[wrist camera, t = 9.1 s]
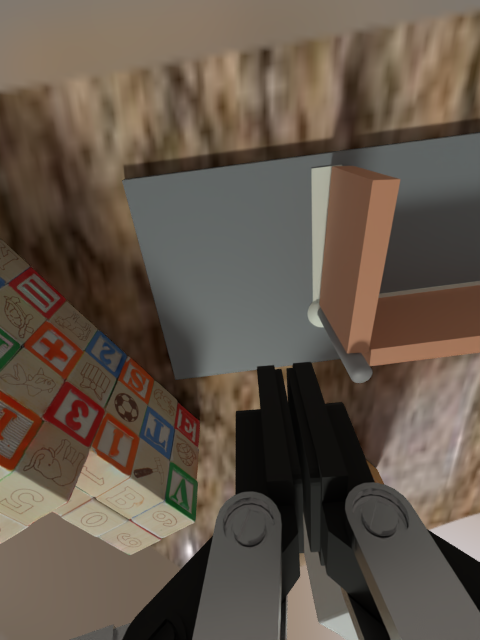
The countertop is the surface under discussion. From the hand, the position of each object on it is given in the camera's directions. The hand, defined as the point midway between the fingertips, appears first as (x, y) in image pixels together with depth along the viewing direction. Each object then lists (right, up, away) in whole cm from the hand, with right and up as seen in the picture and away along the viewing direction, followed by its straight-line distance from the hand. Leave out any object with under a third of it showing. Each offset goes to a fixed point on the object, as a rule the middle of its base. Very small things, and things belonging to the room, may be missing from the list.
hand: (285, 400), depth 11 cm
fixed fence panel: (+12, +4, +14) cm, 19 cm away
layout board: (+5, +6, +13) cm, 16 cm away
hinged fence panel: (+5, +7, +12) cm, 15 cm away
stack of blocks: (-14, -1, +16) cm, 21 cm away
